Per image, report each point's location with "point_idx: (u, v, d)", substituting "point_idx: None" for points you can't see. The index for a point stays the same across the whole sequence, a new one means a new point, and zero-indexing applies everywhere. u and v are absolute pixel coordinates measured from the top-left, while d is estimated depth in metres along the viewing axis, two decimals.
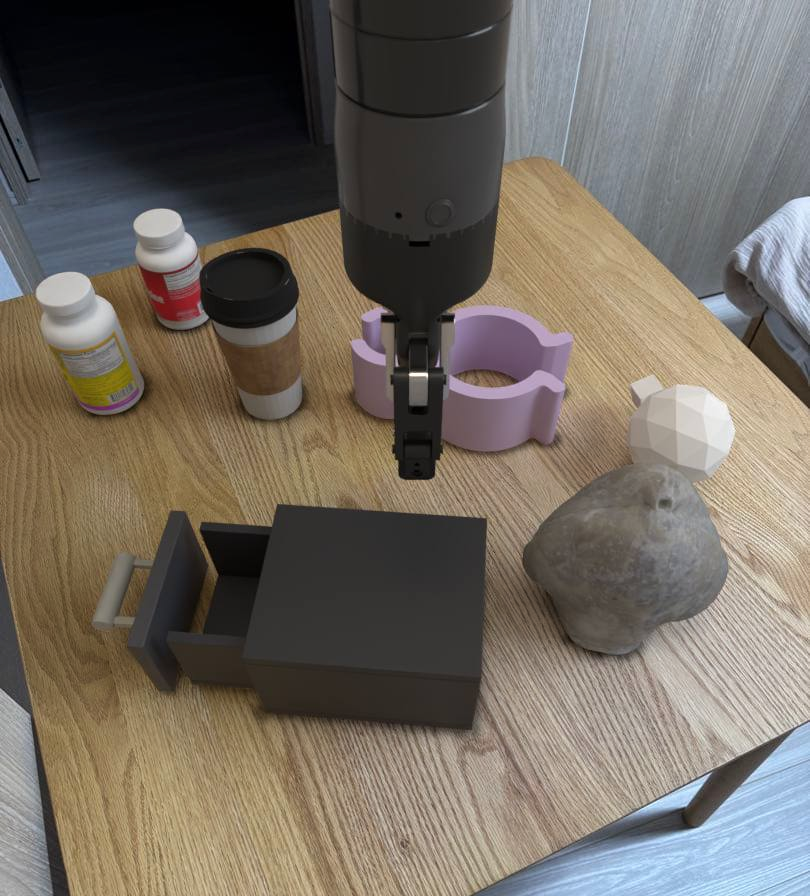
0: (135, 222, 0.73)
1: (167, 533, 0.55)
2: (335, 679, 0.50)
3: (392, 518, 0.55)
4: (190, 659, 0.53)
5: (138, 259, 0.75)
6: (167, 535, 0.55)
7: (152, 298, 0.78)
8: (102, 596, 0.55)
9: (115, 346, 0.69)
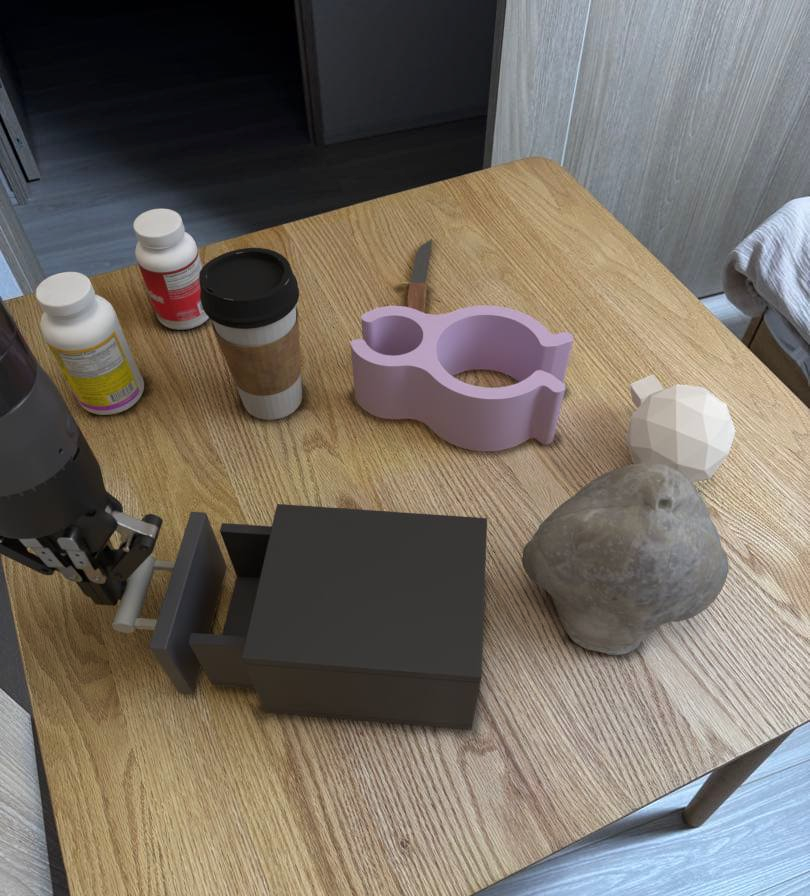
0: (135, 222, 0.73)
1: (188, 534, 0.55)
2: (335, 679, 0.50)
3: (392, 518, 0.55)
4: (212, 661, 0.53)
5: (138, 259, 0.75)
6: (188, 537, 0.55)
7: (152, 298, 0.78)
8: (123, 597, 0.55)
9: (115, 346, 0.69)
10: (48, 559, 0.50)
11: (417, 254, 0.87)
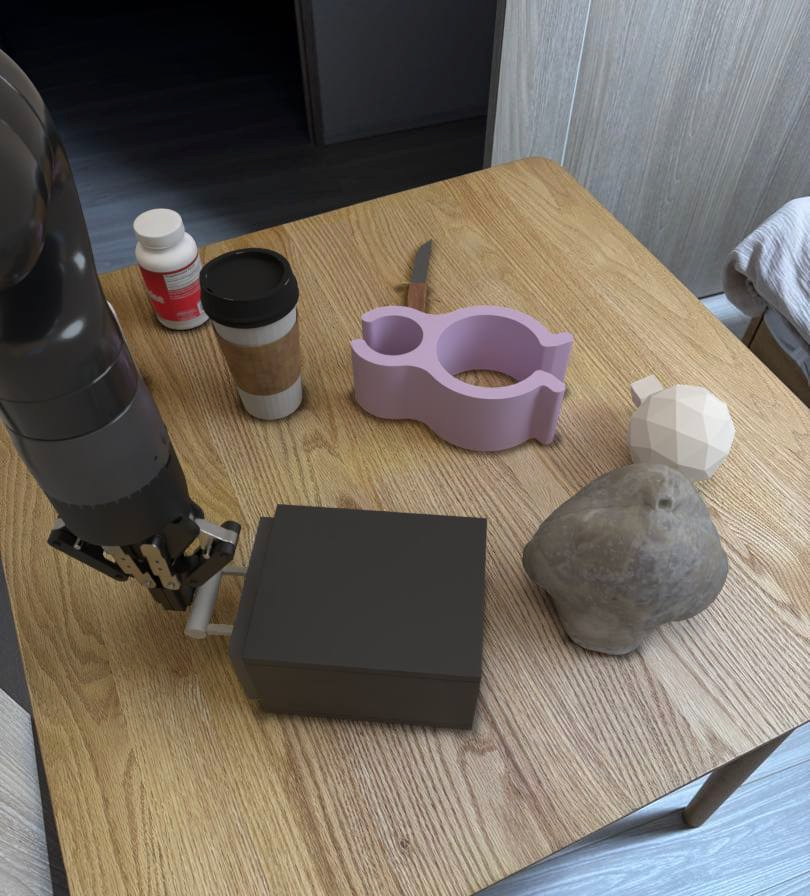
0: (135, 222, 0.73)
1: (259, 540, 0.55)
2: (335, 679, 0.50)
3: (392, 518, 0.55)
4: None
5: (138, 259, 0.75)
6: (259, 542, 0.55)
7: (152, 298, 0.78)
8: (194, 603, 0.55)
9: None
10: (126, 566, 0.49)
11: (417, 254, 0.87)
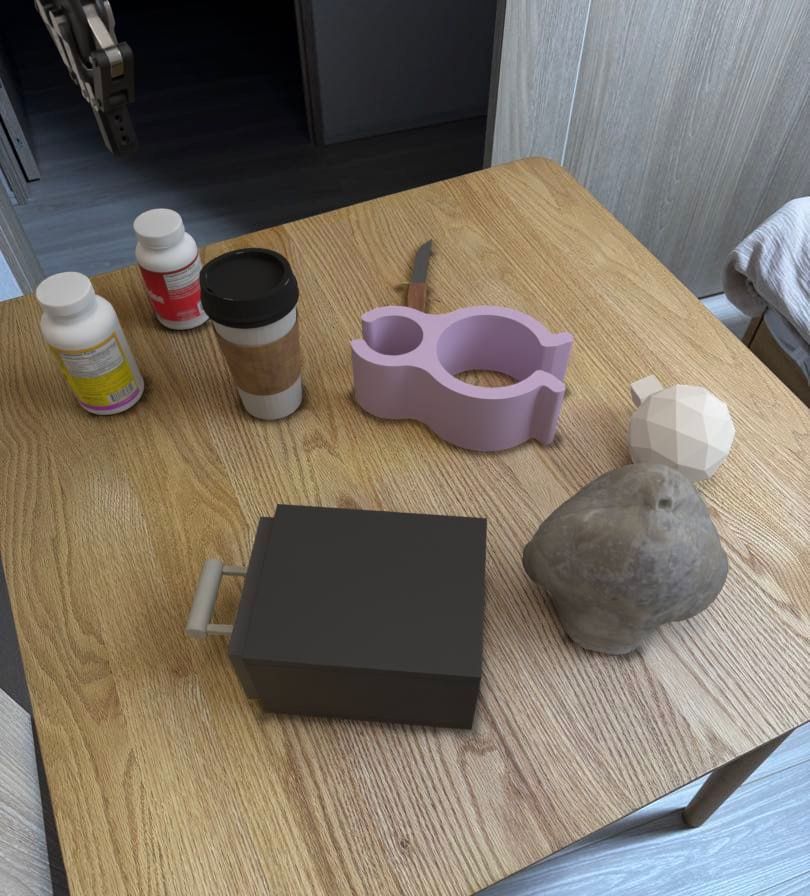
0: (135, 222, 0.73)
1: (259, 540, 0.55)
2: (335, 679, 0.50)
3: (392, 518, 0.55)
4: None
5: (138, 259, 0.75)
6: (259, 542, 0.55)
7: (152, 298, 0.78)
8: (194, 603, 0.55)
9: (115, 346, 0.69)
10: None
11: (417, 254, 0.87)
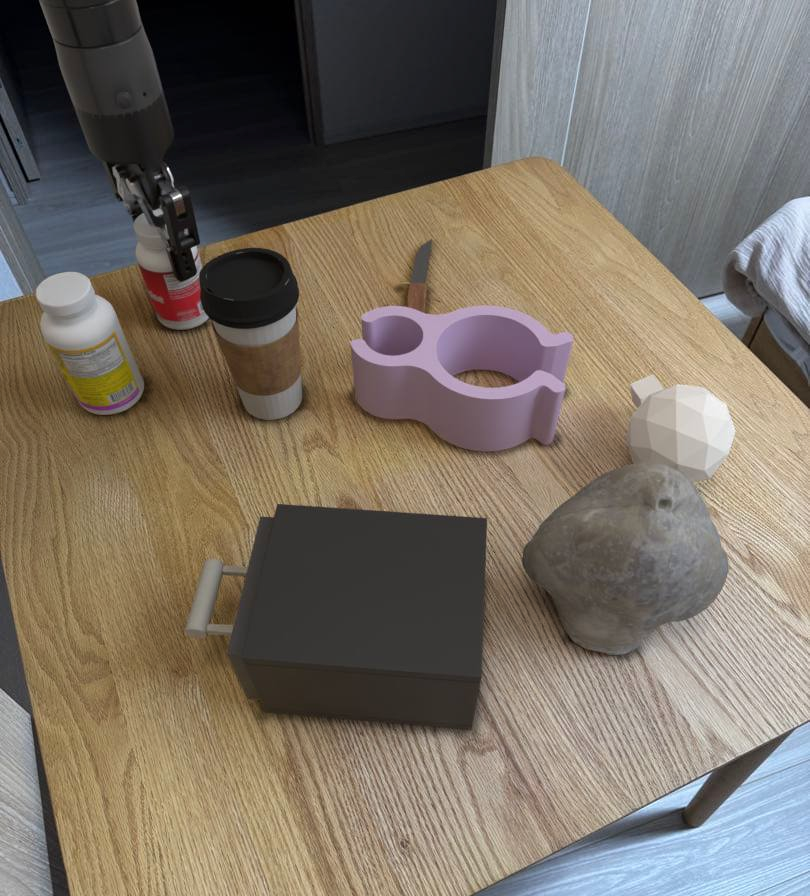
0: (135, 222, 0.73)
1: (259, 540, 0.55)
2: (335, 679, 0.50)
3: (392, 518, 0.55)
4: None
5: (138, 259, 0.75)
6: (259, 542, 0.55)
7: (152, 298, 0.78)
8: (194, 603, 0.55)
9: (115, 346, 0.69)
10: None
11: (417, 254, 0.87)
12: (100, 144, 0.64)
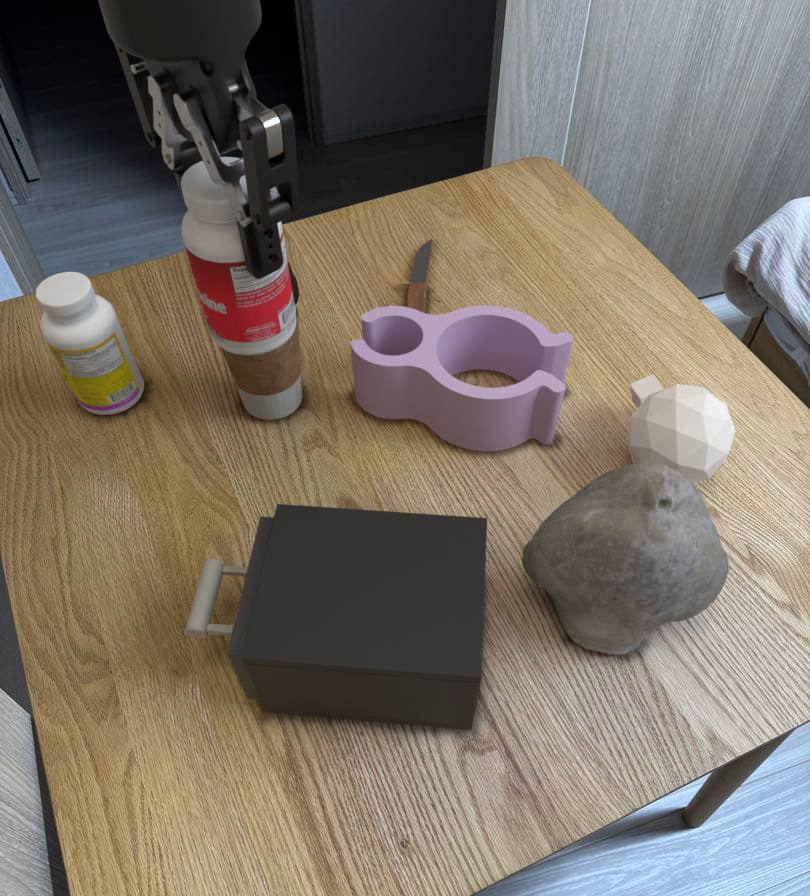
0: (184, 178, 0.44)
1: (259, 540, 0.55)
2: (335, 679, 0.50)
3: (392, 518, 0.55)
4: None
5: (188, 241, 0.45)
6: (259, 542, 0.55)
7: (206, 306, 0.48)
8: (194, 603, 0.55)
9: (115, 346, 0.69)
10: None
11: (417, 254, 0.87)
12: (132, 19, 0.34)
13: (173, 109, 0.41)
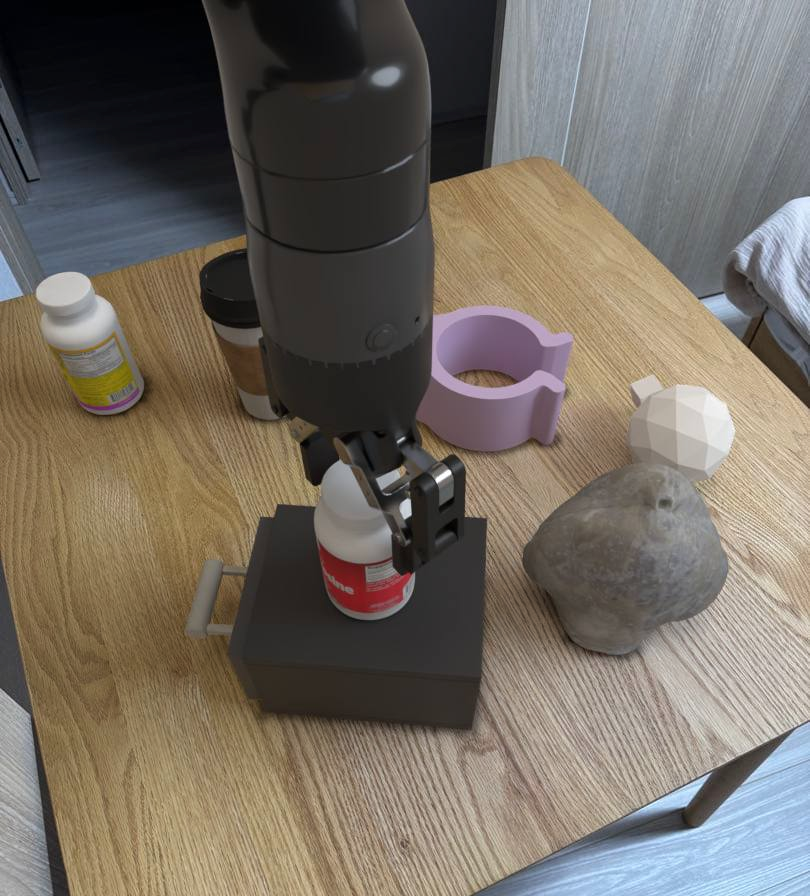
0: (323, 485, 0.43)
1: (259, 540, 0.55)
2: (335, 679, 0.50)
3: None
4: None
5: (323, 540, 0.44)
6: (259, 542, 0.55)
7: (332, 583, 0.48)
8: (194, 603, 0.55)
9: (115, 346, 0.69)
10: None
11: None
12: (311, 402, 0.32)
13: (324, 427, 0.39)
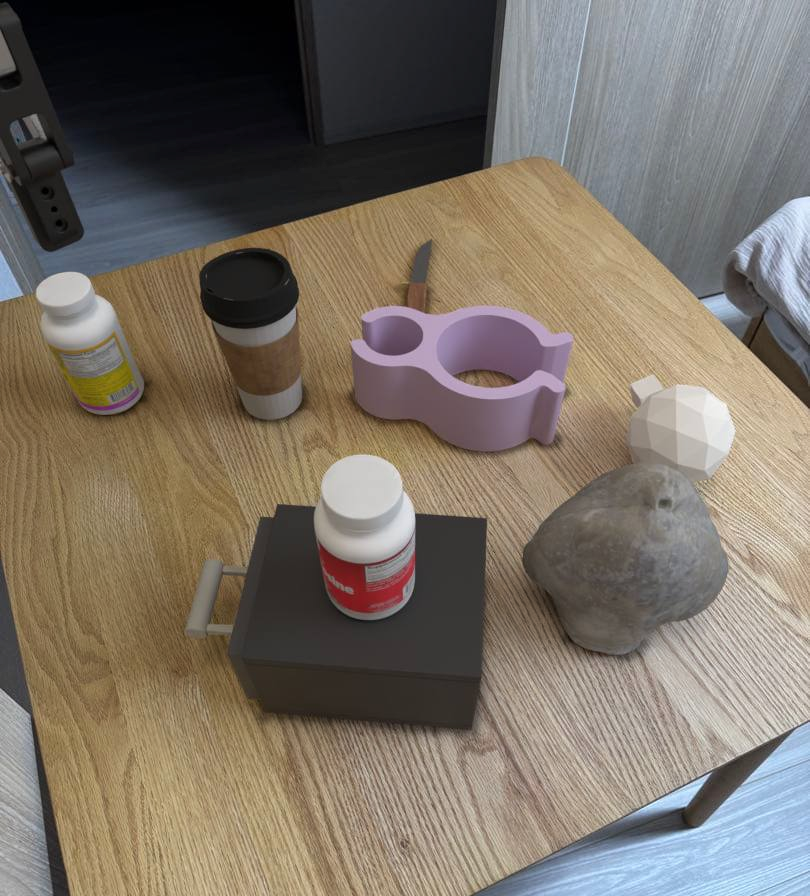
0: (323, 485, 0.43)
1: (259, 540, 0.55)
2: (335, 679, 0.50)
3: None
4: None
5: (322, 540, 0.44)
6: (259, 542, 0.55)
7: (332, 583, 0.48)
8: (194, 603, 0.55)
9: (115, 346, 0.69)
10: None
11: (417, 254, 0.87)
12: None
13: None
